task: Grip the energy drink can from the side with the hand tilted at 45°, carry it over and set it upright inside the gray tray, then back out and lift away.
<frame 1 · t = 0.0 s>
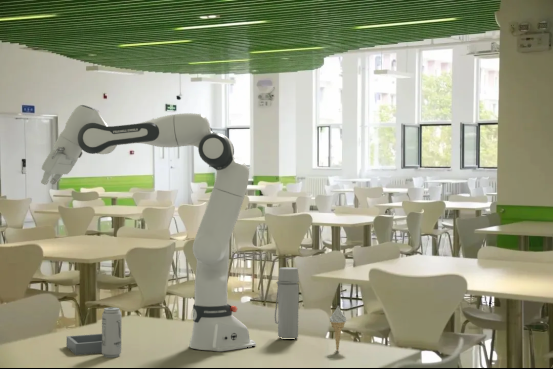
hand: (48, 183, 271), 54 cm above the table, tool tilted 30°, fingers open, 8 cm apart
water bottle: (285, 338, 285), on the table
energy drink can: (111, 356, 253), on the table
ice cream cone: (337, 351, 264), on the table
gray tray: (92, 348, 263), on the table
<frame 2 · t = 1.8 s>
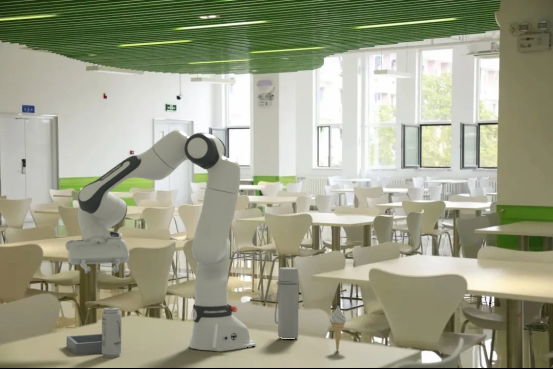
hand: (102, 271, 264), 25 cm above the table, tool tilted 45°, fingers open, 8 cm apart
nothing on the table moved.
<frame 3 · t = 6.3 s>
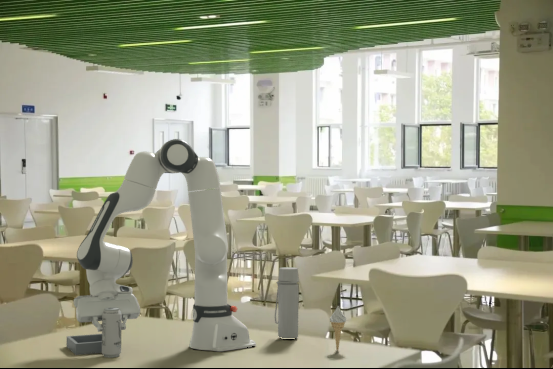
hand: (112, 329, 252), 8 cm above the table, tool tilted 45°, fingers closed on energy drink can, 6 cm apart
energy drink can: (111, 356, 253), on the table, touching gripper
everything else where it was.
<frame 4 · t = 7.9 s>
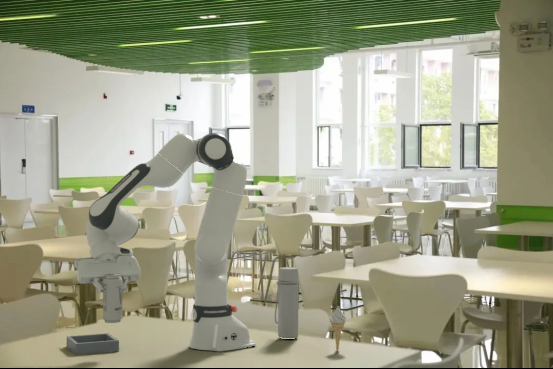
hand: (113, 290, 252), 21 cm above the table, tool tilted 45°, fingers closed on energy drink can, 6 cm apart
energy drink can: (112, 322, 253), point 11 cm above the table, touching gripper
everything else where it was.
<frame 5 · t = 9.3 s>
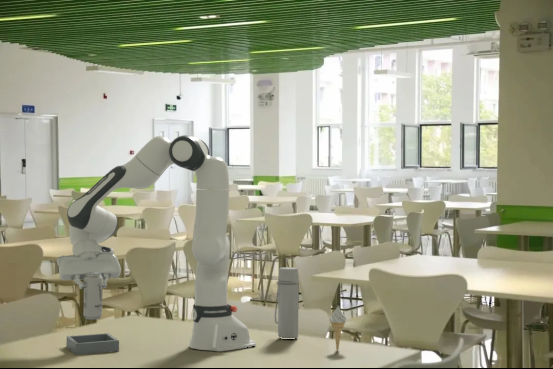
hand: (93, 287, 263), 20 cm above the table, tool tilted 45°, fingers closed on energy drink can, 6 cm apart
energy drink can: (92, 318, 263), point 10 cm above the table, touching gripper
everything else where it was.
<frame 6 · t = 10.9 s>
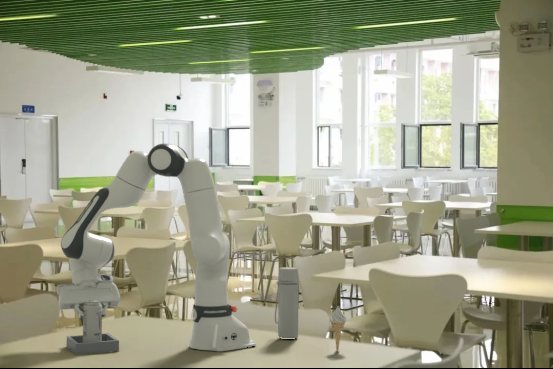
hand: (92, 316, 263), 11 cm above the table, tool tilted 45°, fingers closed on energy drink can, 6 cm apart
energy drink can: (92, 347, 263), point 1 cm above the table, touching gray tray, gripper
everything else where it was.
when the fingers open (10 cm above the table, at t = 11.5 s): energy drink can stays where it is, resting on gray tray.
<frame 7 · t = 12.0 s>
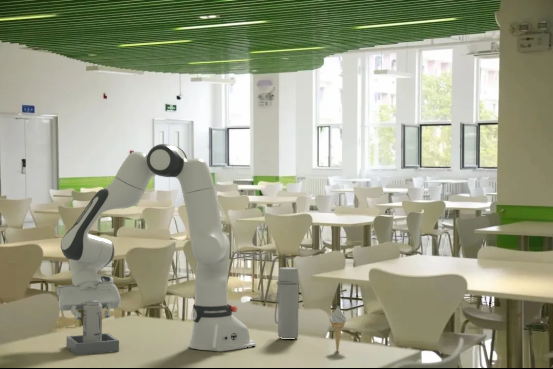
hand: (93, 317, 263), 10 cm above the table, tool tilted 45°, fingers open, 8 cm apart
energy drink can: (92, 347, 263), point 1 cm above the table, touching gray tray
everything else where it was.
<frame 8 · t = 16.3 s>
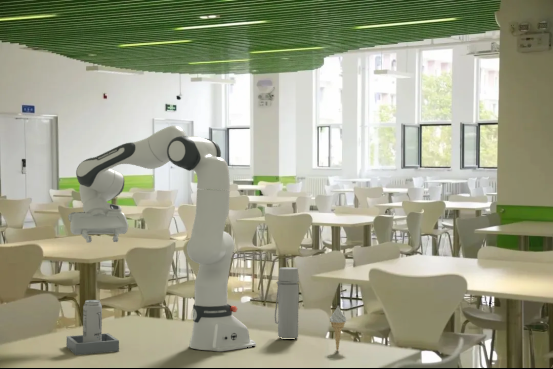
hand: (102, 241, 280), 34 cm above the table, tool tilted 45°, fingers open, 8 cm apart
nothing on the table moved.
at the end: energy drink can inside the target area on the gray tray (0.2 cm from its centre), point 0.6 cm above the gray tray's base; energy drink can tilted 0°; the gripper is holding nothing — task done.
